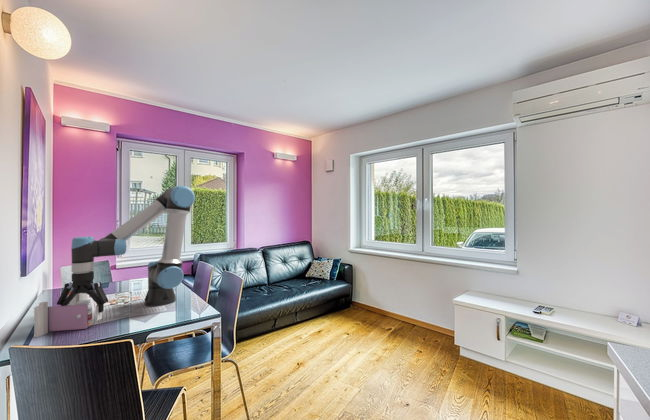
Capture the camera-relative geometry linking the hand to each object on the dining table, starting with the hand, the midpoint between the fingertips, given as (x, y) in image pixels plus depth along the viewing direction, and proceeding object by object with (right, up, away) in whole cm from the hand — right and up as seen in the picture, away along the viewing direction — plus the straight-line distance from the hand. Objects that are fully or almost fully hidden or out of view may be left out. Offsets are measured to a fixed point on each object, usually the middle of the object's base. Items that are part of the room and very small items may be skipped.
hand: (82, 320), depth 125 cm
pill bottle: (0, -3, 0) cm, 3 cm away
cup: (-20, -4, +19) cm, 28 cm away
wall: (-10, -3, +2) cm, 11 cm away
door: (-3, -2, -5) cm, 6 cm away
